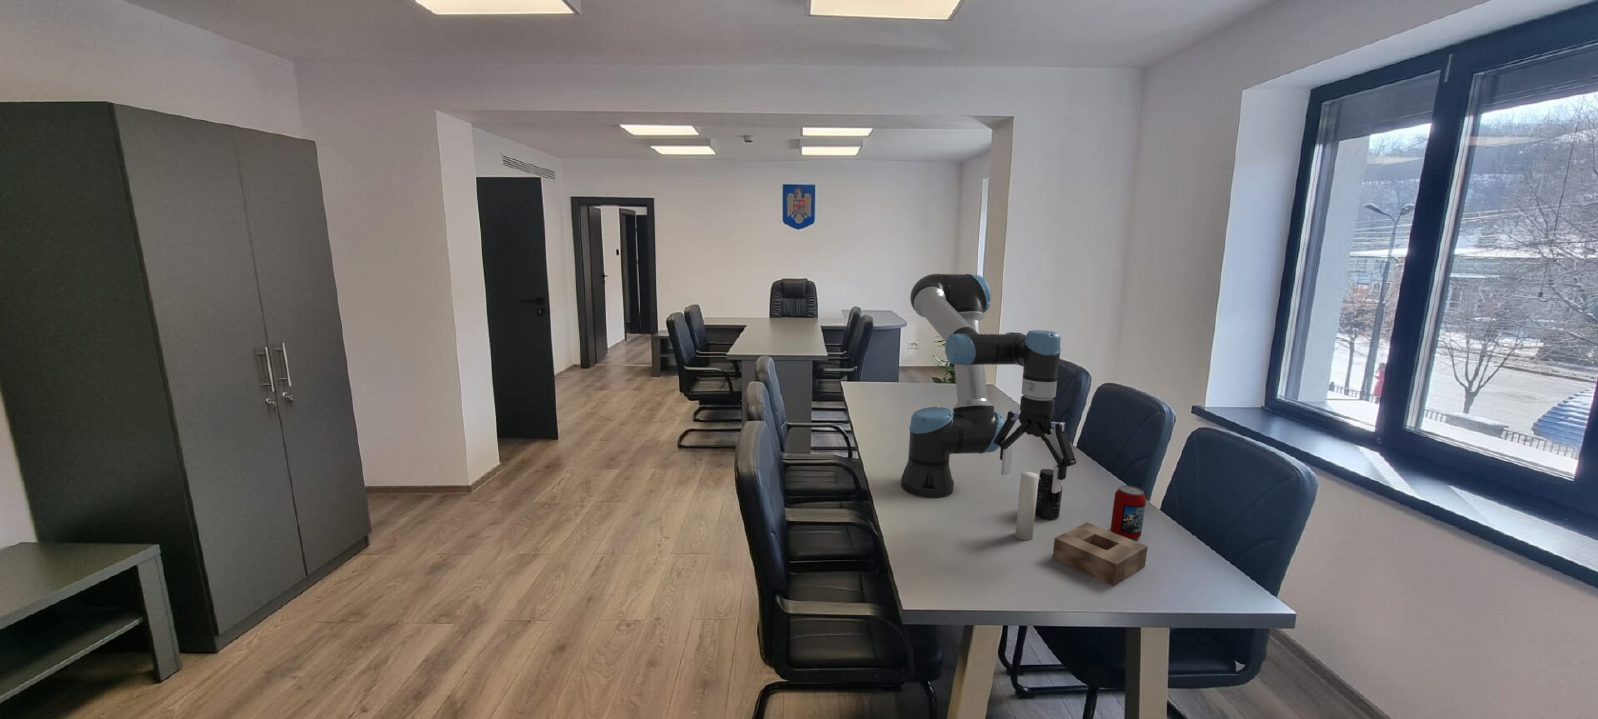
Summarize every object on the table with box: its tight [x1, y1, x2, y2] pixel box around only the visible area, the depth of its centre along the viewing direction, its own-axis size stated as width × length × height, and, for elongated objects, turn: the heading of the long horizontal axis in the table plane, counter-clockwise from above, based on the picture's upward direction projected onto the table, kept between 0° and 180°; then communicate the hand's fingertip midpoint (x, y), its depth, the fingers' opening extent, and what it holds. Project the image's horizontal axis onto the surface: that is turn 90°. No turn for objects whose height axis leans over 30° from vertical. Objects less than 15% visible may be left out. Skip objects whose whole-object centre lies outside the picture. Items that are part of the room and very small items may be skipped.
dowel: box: [1014, 471, 1040, 541], centre depth 147 cm, size 4×4×16 cm
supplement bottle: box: [1035, 468, 1063, 520], centre depth 159 cm, size 7×7×12 cm
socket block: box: [1052, 522, 1149, 587], centre depth 136 cm, size 14×14×5 cm
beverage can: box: [1110, 485, 1147, 540], centre depth 149 cm, size 7×7×12 cm
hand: (1030, 482), depth 145 cm, fingers open, 13 cm apart
